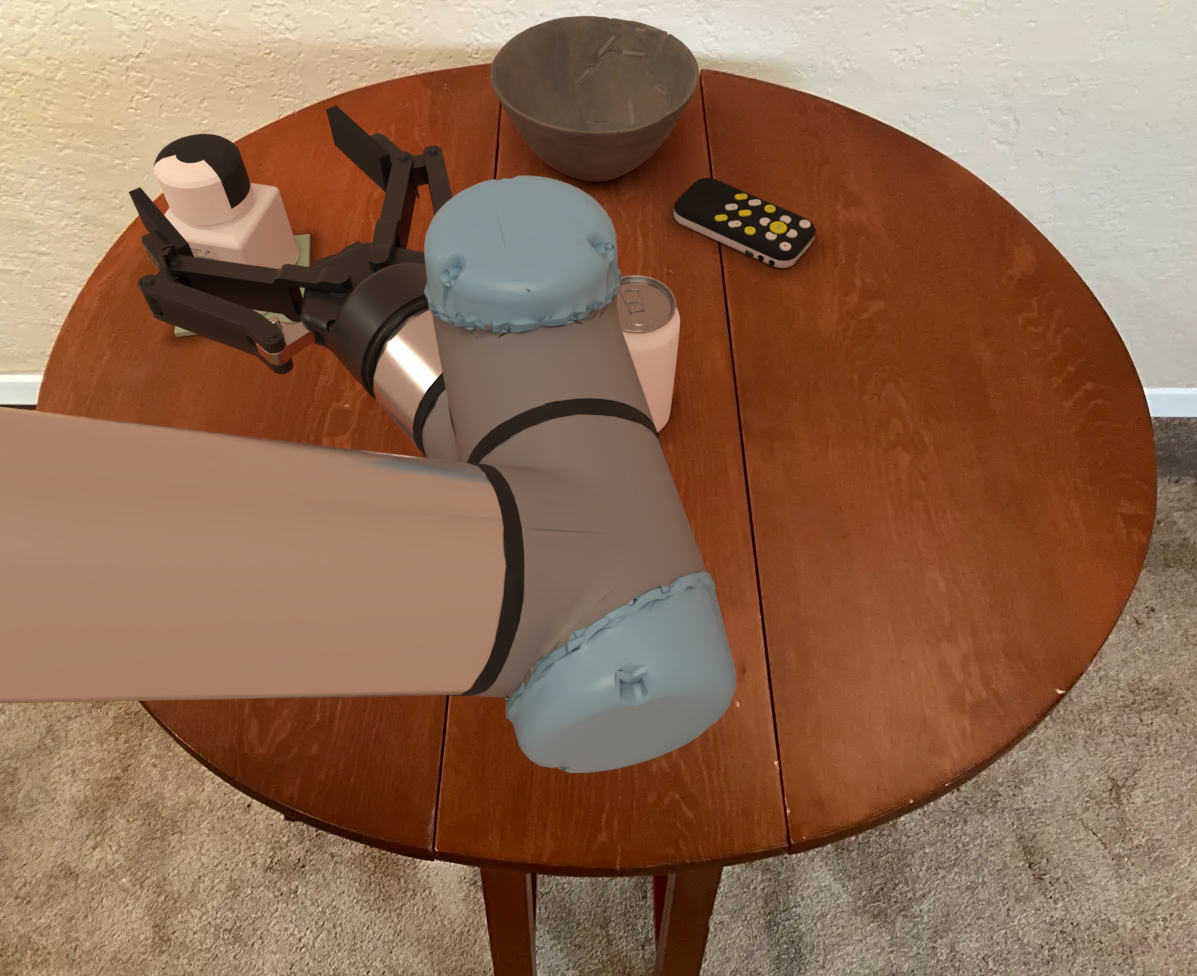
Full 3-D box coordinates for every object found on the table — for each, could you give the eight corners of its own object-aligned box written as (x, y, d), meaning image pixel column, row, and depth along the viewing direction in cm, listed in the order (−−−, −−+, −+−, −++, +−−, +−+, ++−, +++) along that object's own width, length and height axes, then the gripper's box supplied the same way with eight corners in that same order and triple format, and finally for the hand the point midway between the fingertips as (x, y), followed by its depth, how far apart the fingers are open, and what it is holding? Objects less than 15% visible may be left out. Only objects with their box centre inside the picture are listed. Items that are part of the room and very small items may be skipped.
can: (598, 449, 75) (600, 342, 65) (582, 387, 79) (581, 277, 69) (679, 437, 76) (692, 329, 66) (659, 376, 79) (669, 265, 70)
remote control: (701, 186, 93) (703, 169, 92) (818, 238, 89) (823, 220, 88) (666, 221, 90) (668, 203, 89) (786, 275, 86) (790, 258, 85)
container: (221, 243, 87) (170, 115, 77) (302, 256, 86) (261, 129, 76) (182, 302, 83) (122, 176, 72) (266, 317, 82) (218, 191, 71)
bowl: (722, 142, 97) (734, 48, 89) (629, 250, 88) (633, 156, 80) (565, 85, 103) (563, -8, 95) (461, 181, 93) (449, 87, 85)
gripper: (239, 512, 51) (78, 292, 60) (601, 305, 61) (414, 141, 70) (193, 424, 45) (22, 194, 54) (603, 208, 54) (398, 43, 64)
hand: (242, 164), depth 62 cm, fingers open, 13 cm apart
